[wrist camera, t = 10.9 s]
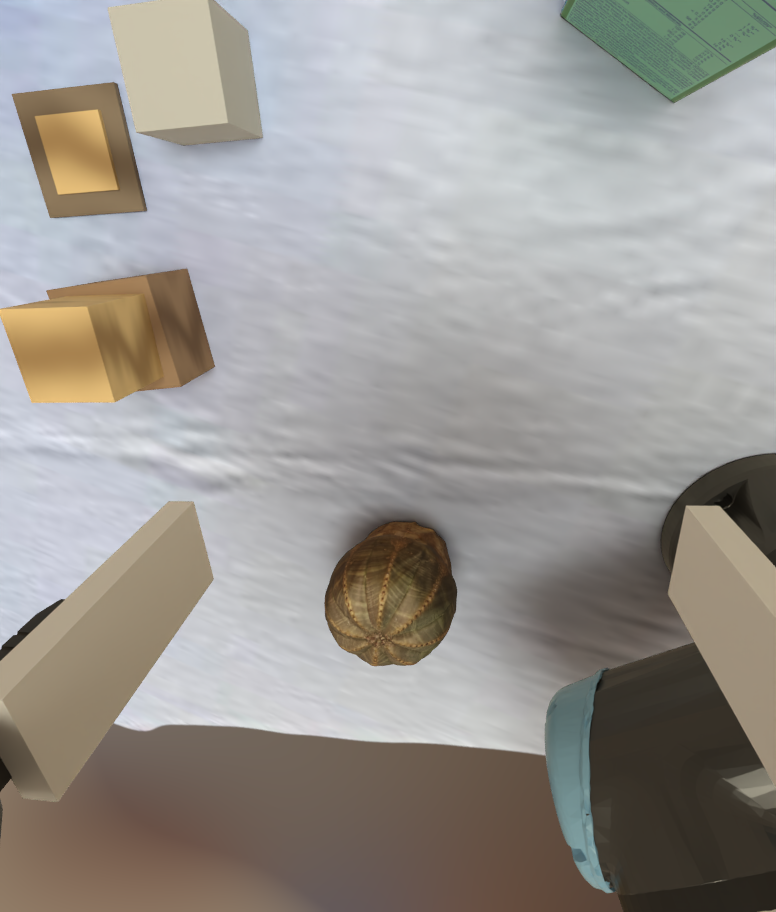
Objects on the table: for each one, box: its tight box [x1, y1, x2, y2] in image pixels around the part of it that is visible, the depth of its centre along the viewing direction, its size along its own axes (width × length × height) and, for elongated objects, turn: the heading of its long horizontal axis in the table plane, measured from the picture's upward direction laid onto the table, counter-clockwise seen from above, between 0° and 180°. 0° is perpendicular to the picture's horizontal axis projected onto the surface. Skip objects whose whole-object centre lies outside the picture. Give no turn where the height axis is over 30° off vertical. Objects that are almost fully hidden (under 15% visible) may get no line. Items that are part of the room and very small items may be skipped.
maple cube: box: [0, 294, 164, 403], centre depth 34 cm, size 6×6×6 cm
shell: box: [325, 522, 457, 666], centre depth 43 cm, size 11×11×12 cm
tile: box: [12, 82, 147, 218], centre depth 37 cm, size 8×8×1 cm
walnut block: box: [47, 269, 215, 391], centre depth 40 cm, size 8×8×6 cm
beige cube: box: [108, 0, 263, 146], centre depth 32 cm, size 6×6×6 cm
